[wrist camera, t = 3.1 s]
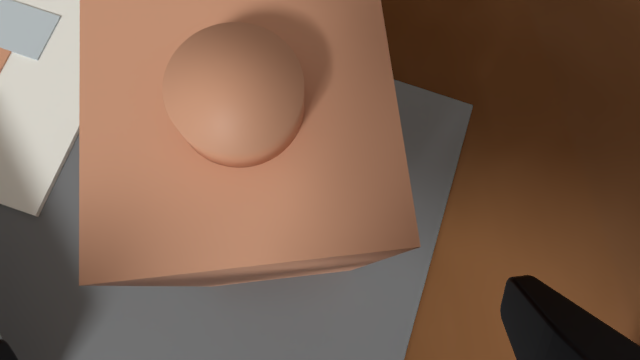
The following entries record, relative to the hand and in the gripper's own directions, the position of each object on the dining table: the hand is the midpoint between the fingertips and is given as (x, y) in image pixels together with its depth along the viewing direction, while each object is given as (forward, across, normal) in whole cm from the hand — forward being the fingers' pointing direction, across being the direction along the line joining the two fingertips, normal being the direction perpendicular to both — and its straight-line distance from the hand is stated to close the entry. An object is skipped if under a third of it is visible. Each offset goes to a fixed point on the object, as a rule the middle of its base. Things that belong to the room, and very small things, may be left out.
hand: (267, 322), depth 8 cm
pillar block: (+8, 0, +3) cm, 9 cm away
